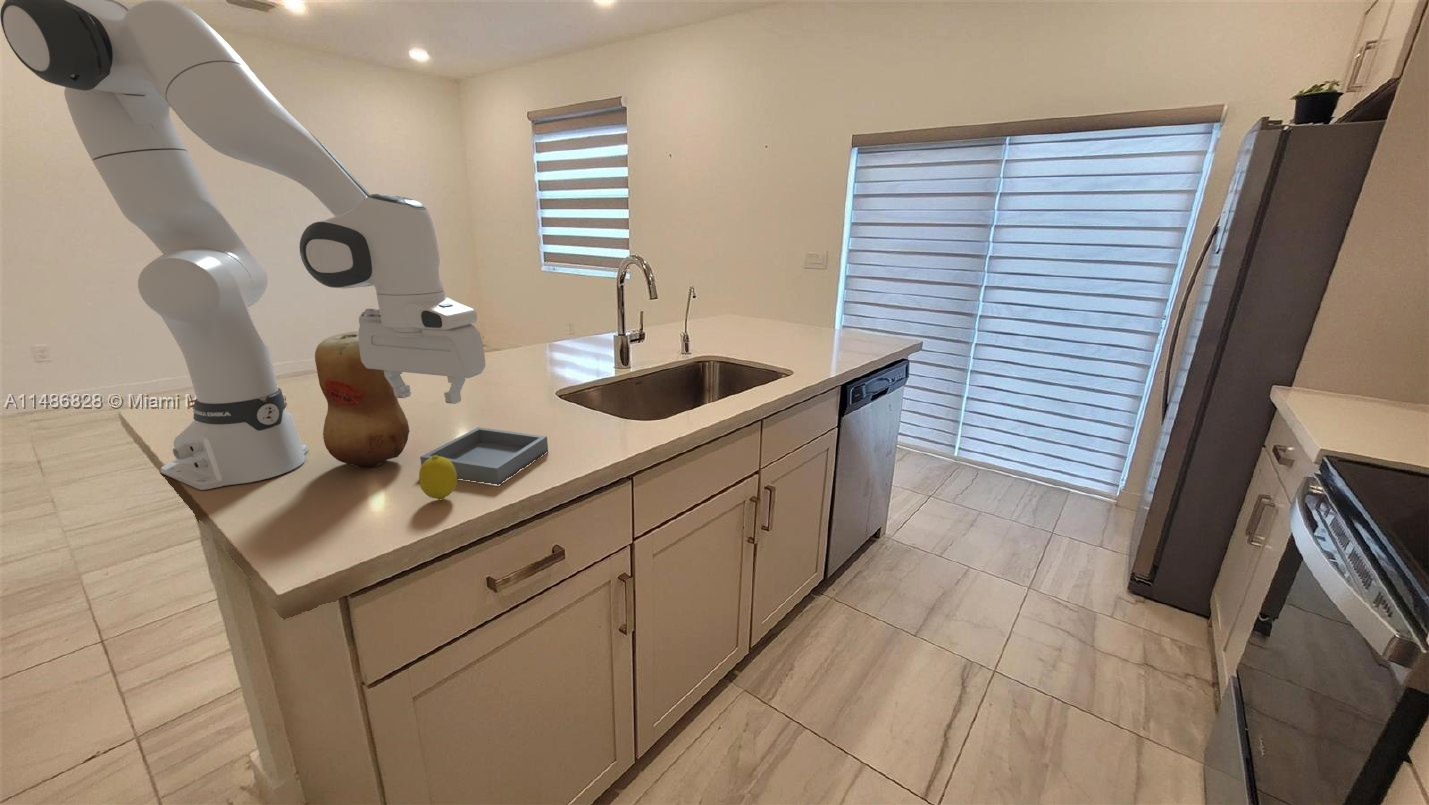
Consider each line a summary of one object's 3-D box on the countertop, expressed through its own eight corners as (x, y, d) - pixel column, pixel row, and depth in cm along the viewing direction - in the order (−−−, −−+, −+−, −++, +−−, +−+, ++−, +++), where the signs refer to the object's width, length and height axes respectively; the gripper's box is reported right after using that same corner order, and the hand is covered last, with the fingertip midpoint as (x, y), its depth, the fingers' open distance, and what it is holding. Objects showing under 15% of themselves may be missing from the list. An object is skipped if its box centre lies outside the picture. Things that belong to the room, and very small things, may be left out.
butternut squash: (313, 479, 97) (282, 340, 90) (354, 450, 110) (331, 326, 102) (394, 479, 98) (371, 341, 91) (426, 449, 111) (408, 326, 103)
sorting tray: (422, 474, 100) (420, 456, 99) (480, 443, 115) (478, 427, 114) (499, 486, 97) (497, 468, 96) (548, 452, 111) (547, 436, 110)
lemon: (415, 502, 90) (408, 458, 88) (445, 489, 95) (439, 446, 93) (437, 511, 88) (430, 465, 86) (467, 497, 93) (461, 453, 90)
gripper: (339, 310, 82) (357, 399, 86) (456, 318, 76) (469, 412, 81) (375, 305, 87) (390, 388, 92) (486, 311, 82) (496, 399, 87)
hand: (428, 399), depth 86 cm, fingers open, 8 cm apart
